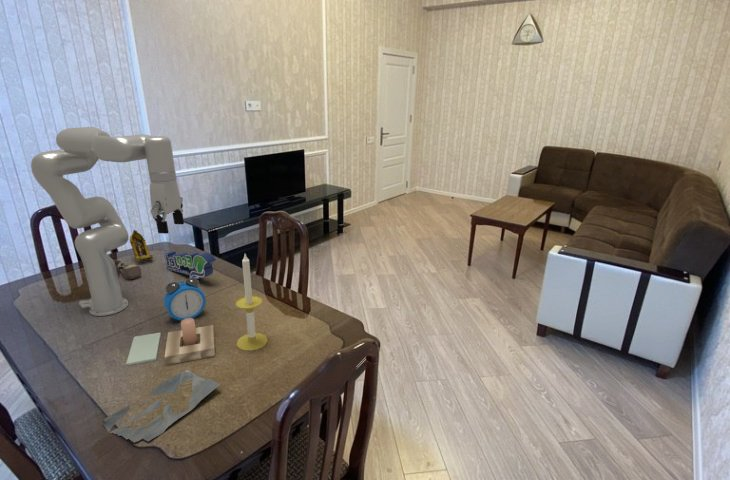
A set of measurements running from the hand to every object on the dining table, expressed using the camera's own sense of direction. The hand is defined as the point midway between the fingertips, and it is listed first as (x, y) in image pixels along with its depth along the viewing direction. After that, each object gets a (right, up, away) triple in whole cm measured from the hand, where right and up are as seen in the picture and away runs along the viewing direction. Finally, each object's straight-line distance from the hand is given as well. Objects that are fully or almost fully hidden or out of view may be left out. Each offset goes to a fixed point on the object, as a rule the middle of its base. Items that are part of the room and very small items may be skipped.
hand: (171, 228), depth 128 cm
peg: (+7, -39, -1) cm, 40 cm away
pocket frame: (+7, -39, -1) cm, 40 cm away
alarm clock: (-2, -33, +17) cm, 37 cm away
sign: (-15, -21, +48) cm, 54 cm away
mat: (-7, -39, -2) cm, 40 cm away
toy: (-44, -20, +49) cm, 68 cm away
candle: (+26, -38, +3) cm, 46 cm away
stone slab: (+10, -49, -25) cm, 56 cm away
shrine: (-45, -14, +63) cm, 79 cm away
